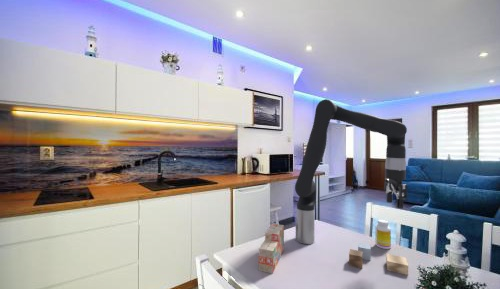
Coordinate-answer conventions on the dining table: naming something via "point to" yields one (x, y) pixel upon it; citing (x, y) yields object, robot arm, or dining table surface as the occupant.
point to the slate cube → (365, 250)
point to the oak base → (397, 264)
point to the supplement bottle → (383, 235)
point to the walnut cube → (356, 258)
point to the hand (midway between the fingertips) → (394, 205)
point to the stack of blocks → (271, 248)
